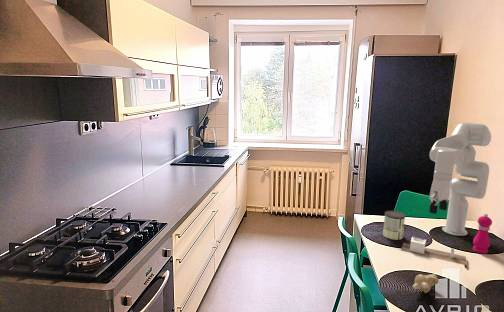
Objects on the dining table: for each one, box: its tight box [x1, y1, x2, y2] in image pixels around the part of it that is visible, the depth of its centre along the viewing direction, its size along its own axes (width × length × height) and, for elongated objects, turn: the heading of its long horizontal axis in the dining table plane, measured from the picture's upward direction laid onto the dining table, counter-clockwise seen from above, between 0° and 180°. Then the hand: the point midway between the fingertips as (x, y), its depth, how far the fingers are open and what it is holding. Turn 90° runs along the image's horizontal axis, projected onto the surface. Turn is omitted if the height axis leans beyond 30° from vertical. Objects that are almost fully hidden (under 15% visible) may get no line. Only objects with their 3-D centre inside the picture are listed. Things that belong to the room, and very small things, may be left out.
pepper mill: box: [472, 213, 493, 255], centre depth 175 cm, size 7×7×20 cm
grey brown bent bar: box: [400, 242, 468, 269], centre depth 169 cm, size 10×28×2 cm, turn 61°
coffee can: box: [382, 210, 406, 241], centre depth 188 cm, size 10×10×14 cm
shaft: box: [450, 247, 455, 259], centre depth 165 cm, size 3×1×4 cm, turn 151°
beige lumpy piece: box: [412, 273, 439, 294], centre depth 138 cm, size 8×7×12 cm
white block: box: [409, 236, 427, 254], centre depth 172 cm, size 6×6×5 cm
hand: (437, 211), depth 163 cm, fingers open, 9 cm apart
